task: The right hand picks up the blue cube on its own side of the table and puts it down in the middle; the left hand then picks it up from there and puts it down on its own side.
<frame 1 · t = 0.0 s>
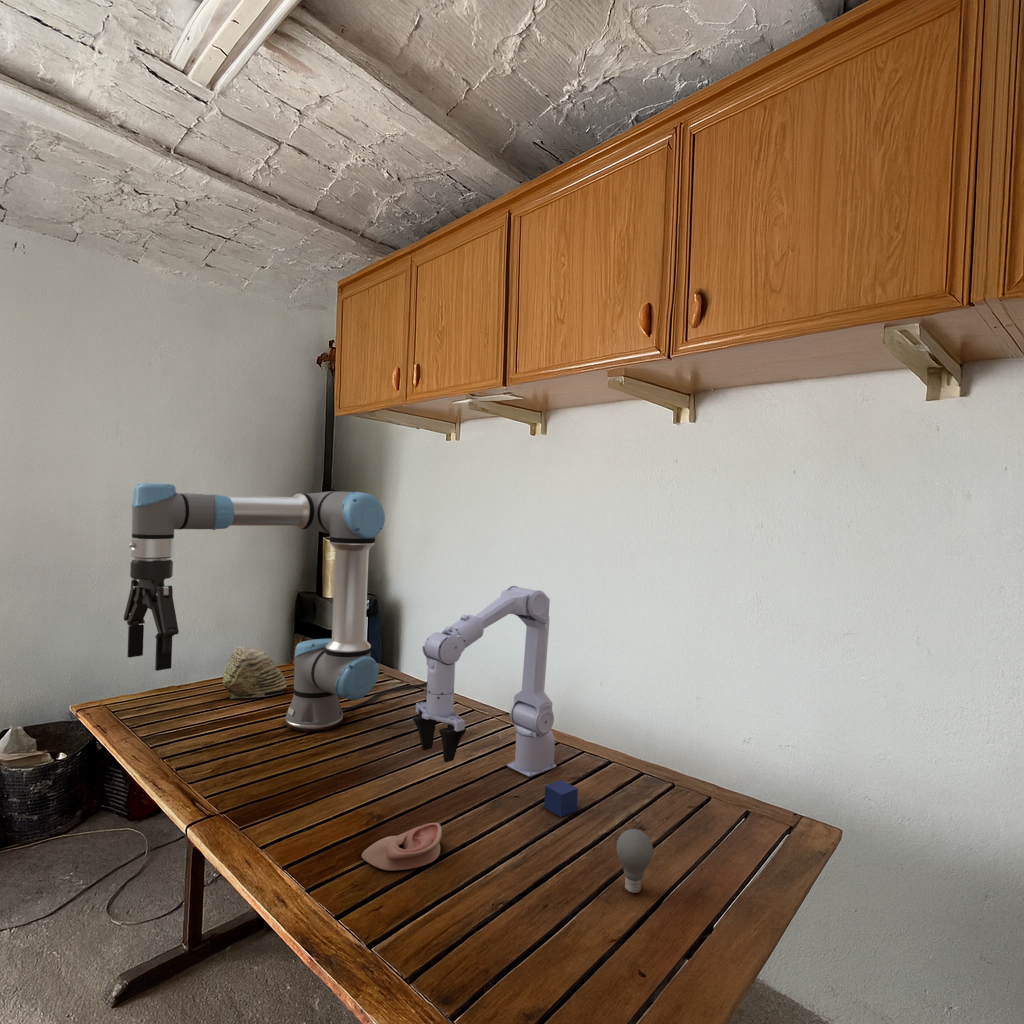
left hand: (148, 662, 129), 28 cm above the table, tool pointing down, fingers open, 13 cm apart
right hand: (437, 754, 133), 10 cm above the table, tool pointing down, fingers open, 7 cm apart
light bulb: (632, 891, 106), on the table
fossil: (254, 694, 198), on the table
blue cube: (560, 809, 133), on the table
anatomical model: (402, 854, 114), on the table
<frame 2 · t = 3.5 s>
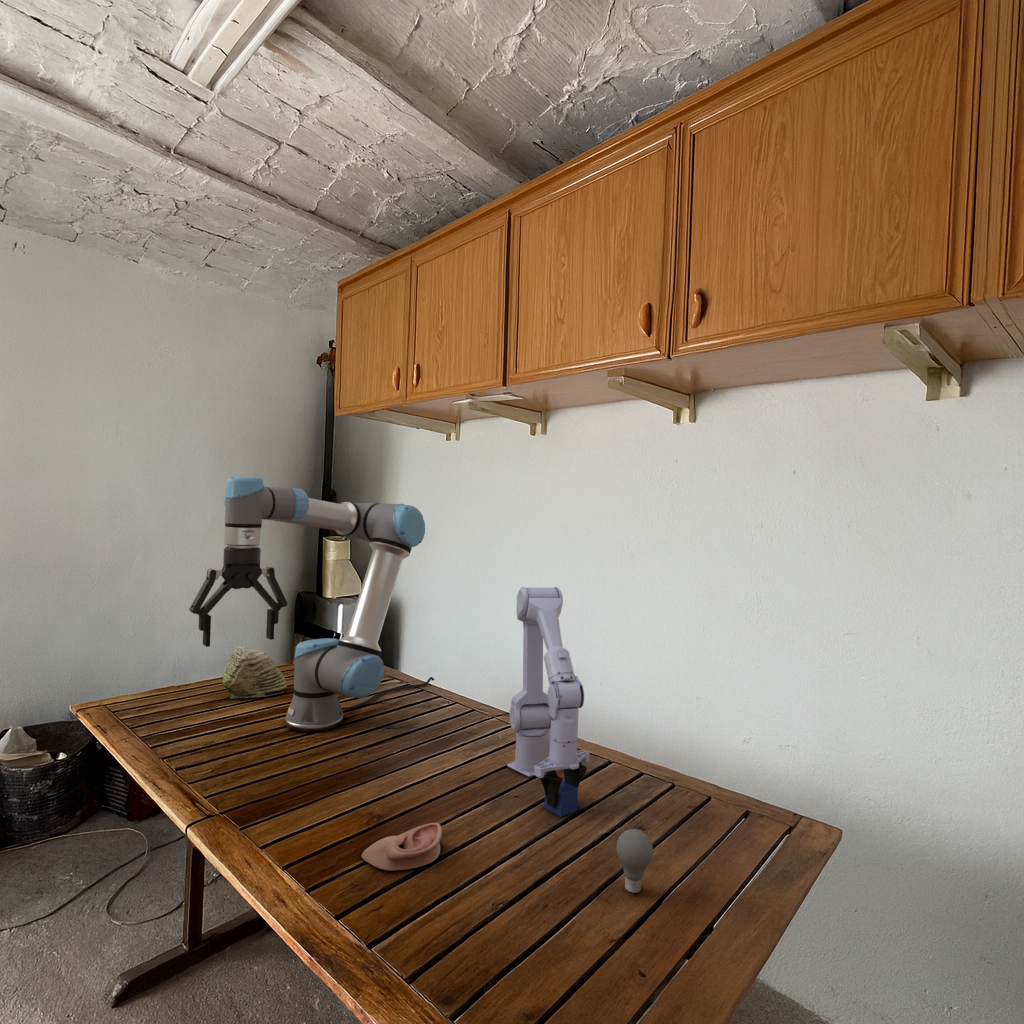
left hand: (239, 642, 141), 30 cm above the table, tool pointing down, fingers open, 13 cm apart
right hand: (560, 802, 133), 1 cm above the table, tool pointing down, fingers closed on blue cube, 5 cm apart
blue cube: (560, 808, 133), on the table, touching right hand
everything else where it was.
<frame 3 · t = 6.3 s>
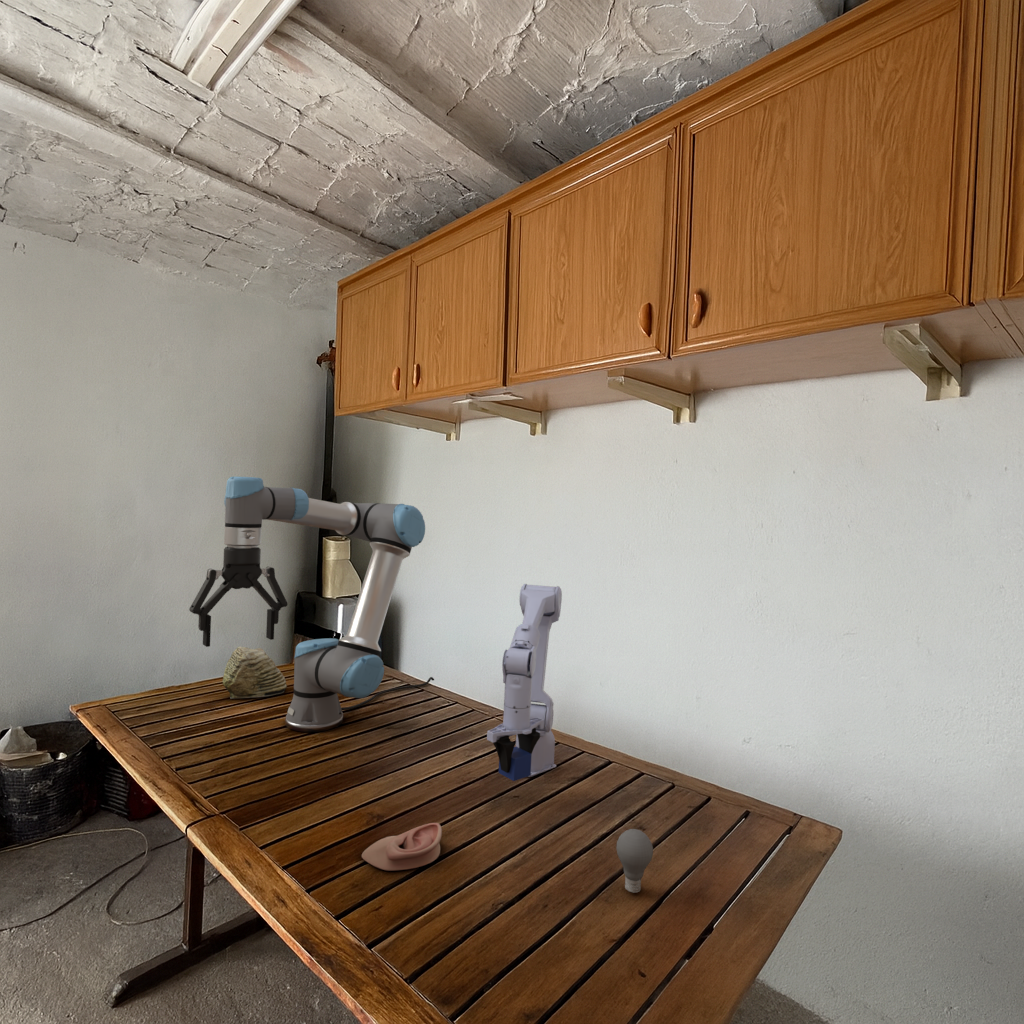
left hand: (239, 642, 141), 30 cm above the table, tool pointing down, fingers open, 13 cm apart
right hand: (514, 767, 135), 7 cm above the table, tool pointing down, fingers closed on blue cube, 5 cm apart
blue cube: (514, 774, 135), point 6 cm above the table, touching right hand
everything else where it was.
when the right hand's fingers open (3 cm above the table, at t = 9.5 s): blue cube drops 1 cm, on the table.
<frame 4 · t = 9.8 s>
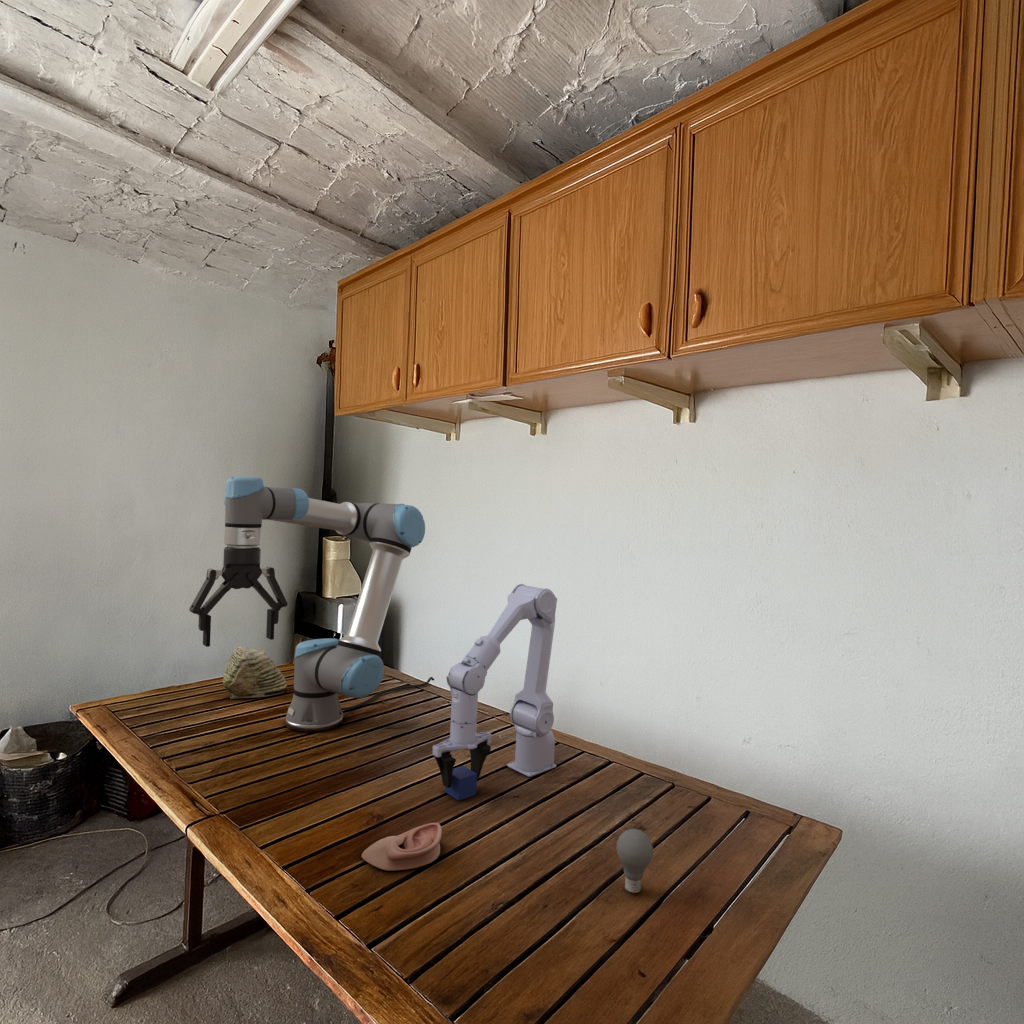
left hand: (239, 642, 141), 30 cm above the table, tool pointing down, fingers open, 13 cm apart
right hand: (461, 781, 138), 3 cm above the table, tool pointing down, fingers open, 7 cm apart
blue cube: (460, 793, 138), on the table
everything else where it was.
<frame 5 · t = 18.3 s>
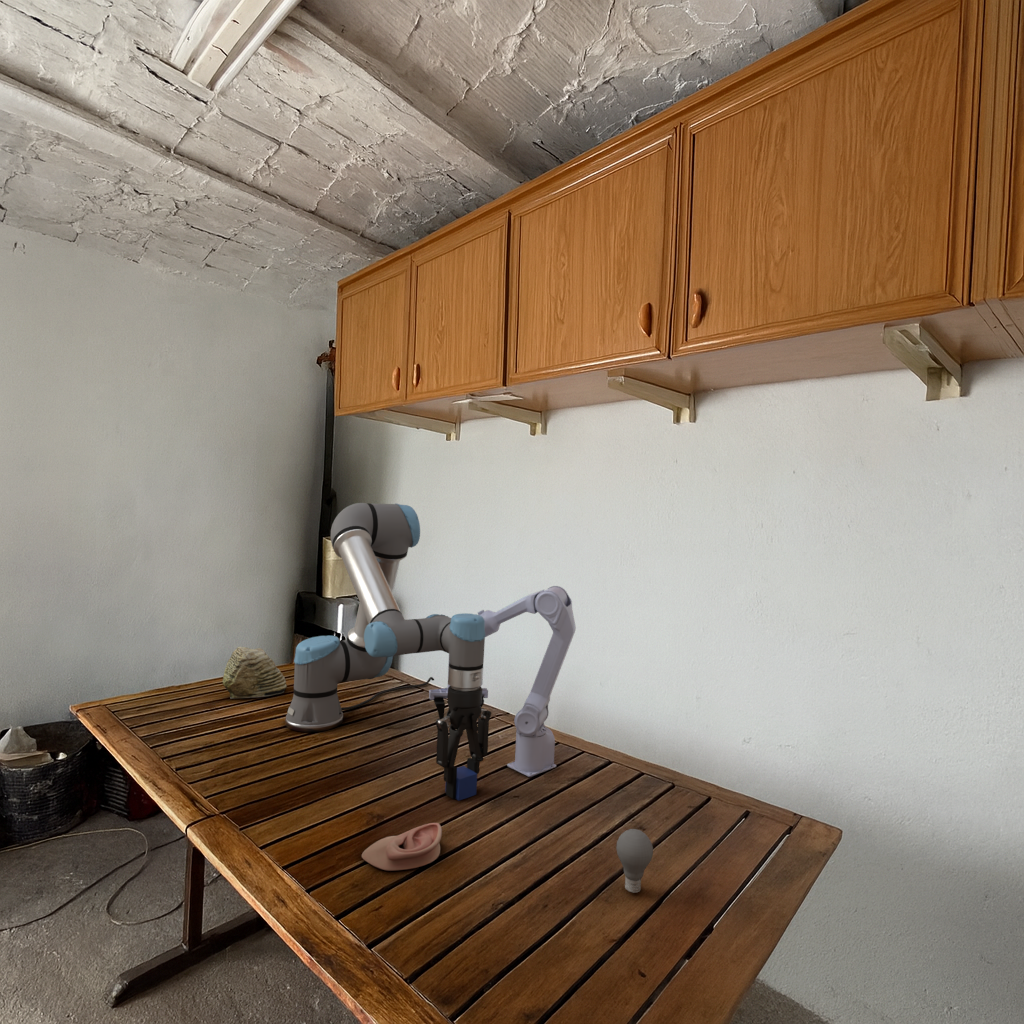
left hand: (461, 792, 138), 0 cm above the table, tool pointing down, fingers closed on blue cube, 5 cm apart
right hand: (457, 726, 158), 7 cm above the table, tool pointing down, fingers open, 7 cm apart
blue cube: (460, 793, 138), on the table, touching left hand
everything else where it was.
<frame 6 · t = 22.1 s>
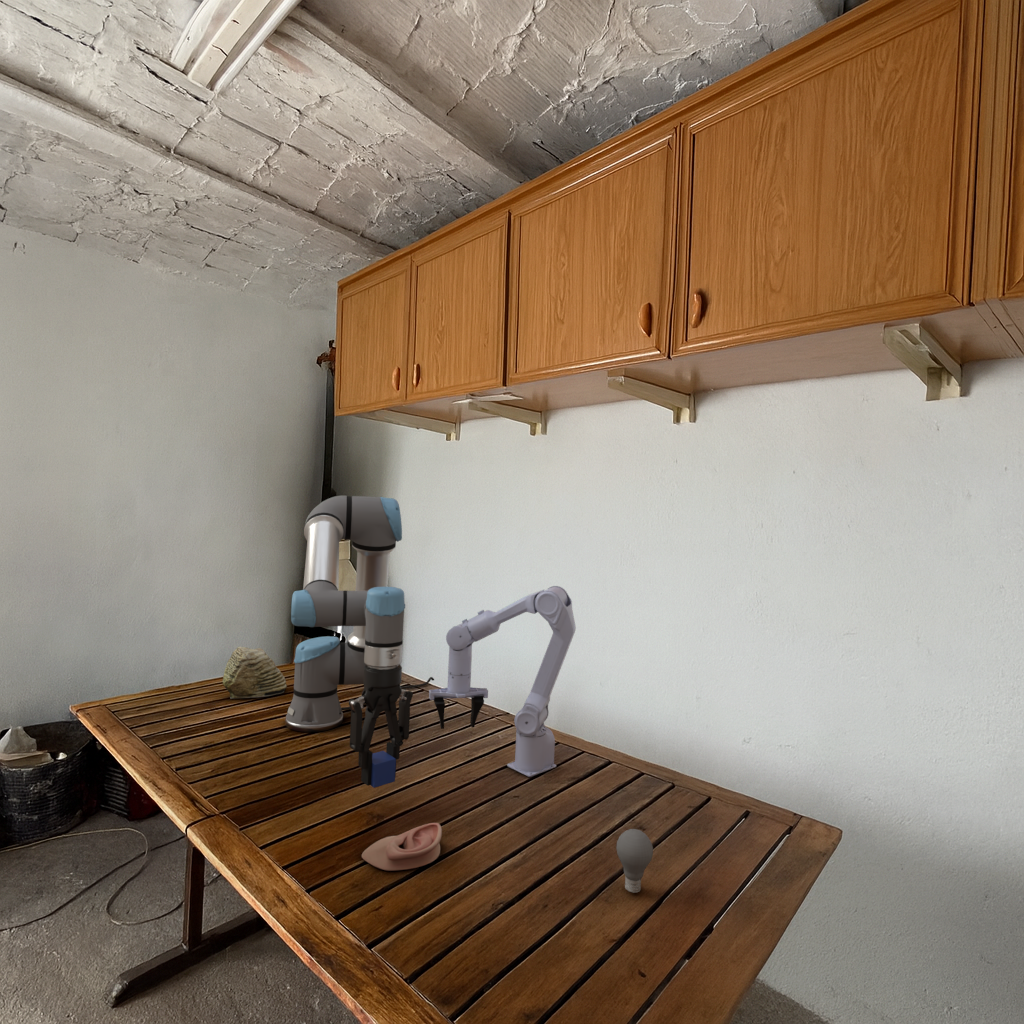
left hand: (378, 779, 128), 7 cm above the table, tool pointing down, fingers closed on blue cube, 5 cm apart
right hand: (457, 726, 158), 7 cm above the table, tool pointing down, fingers open, 7 cm apart
blue cube: (378, 780, 128), point 7 cm above the table, touching left hand
everything else where it was.
when the left hand's fingers open (1 cm above the table, at t = 25.8 s): blue cube stays where it is, on the table.
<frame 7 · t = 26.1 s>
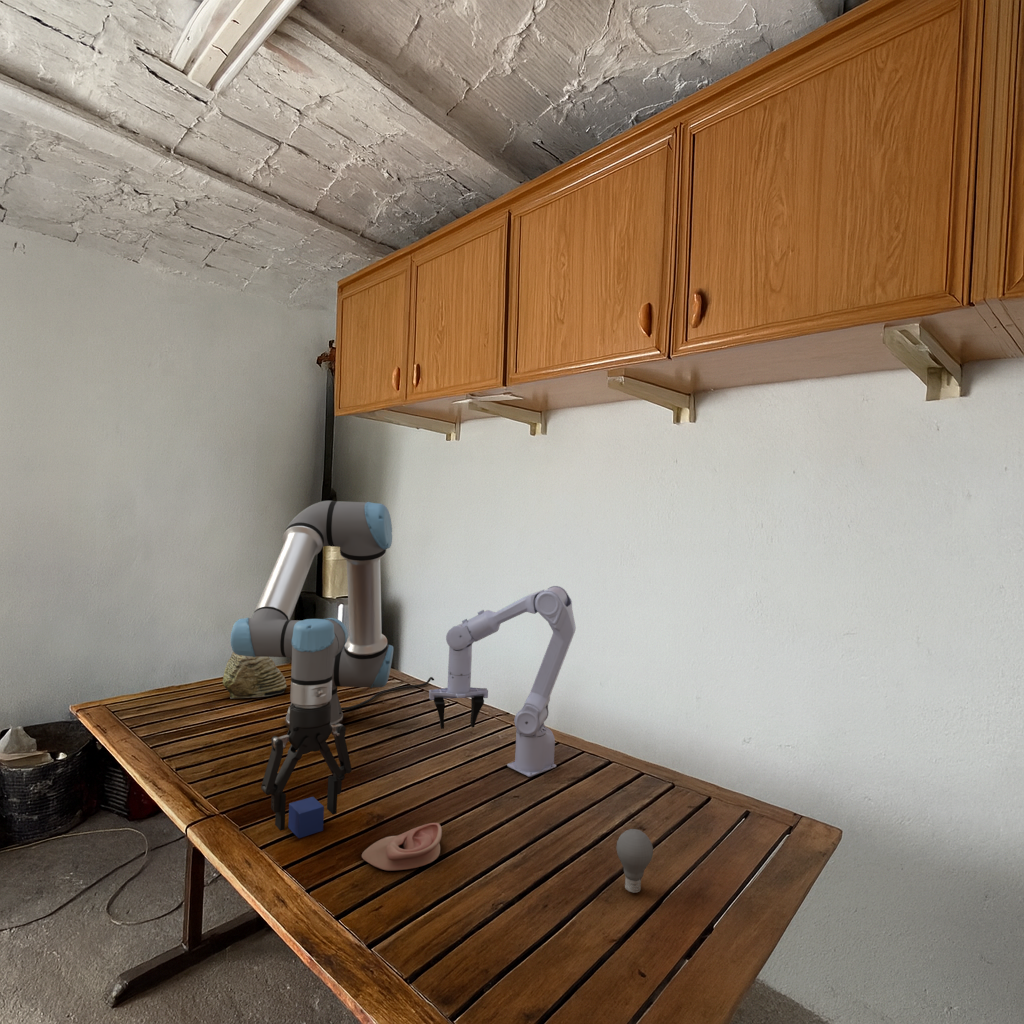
left hand: (306, 819, 121), 2 cm above the table, tool pointing down, fingers open, 9 cm apart
right hand: (457, 726, 158), 7 cm above the table, tool pointing down, fingers open, 7 cm apart
blue cube: (305, 829, 121), on the table
everything else where it was.
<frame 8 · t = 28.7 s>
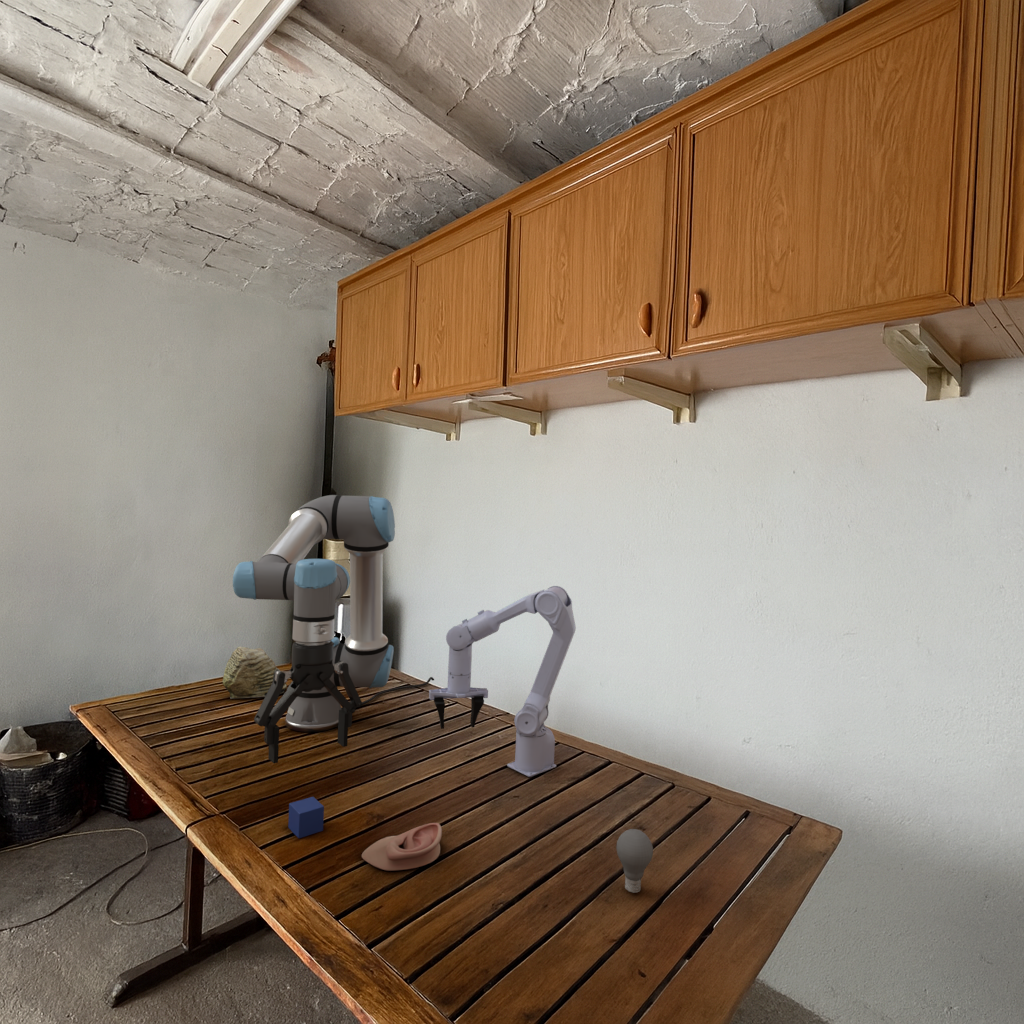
left hand: (309, 752, 120), 15 cm above the table, tool pointing down, fingers open, 13 cm apart
right hand: (457, 726, 158), 7 cm above the table, tool pointing down, fingers open, 7 cm apart
nothing on the table moved.
at the end: blue cube inside the target area (0.1 cm from its centre), on the table; blue cube tilted 0°; the two hands never held the blue cube at the same time; the left hand is holding nothing; the right hand is holding nothing; blue cube at rest at the end (0.0 cm/s) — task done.
